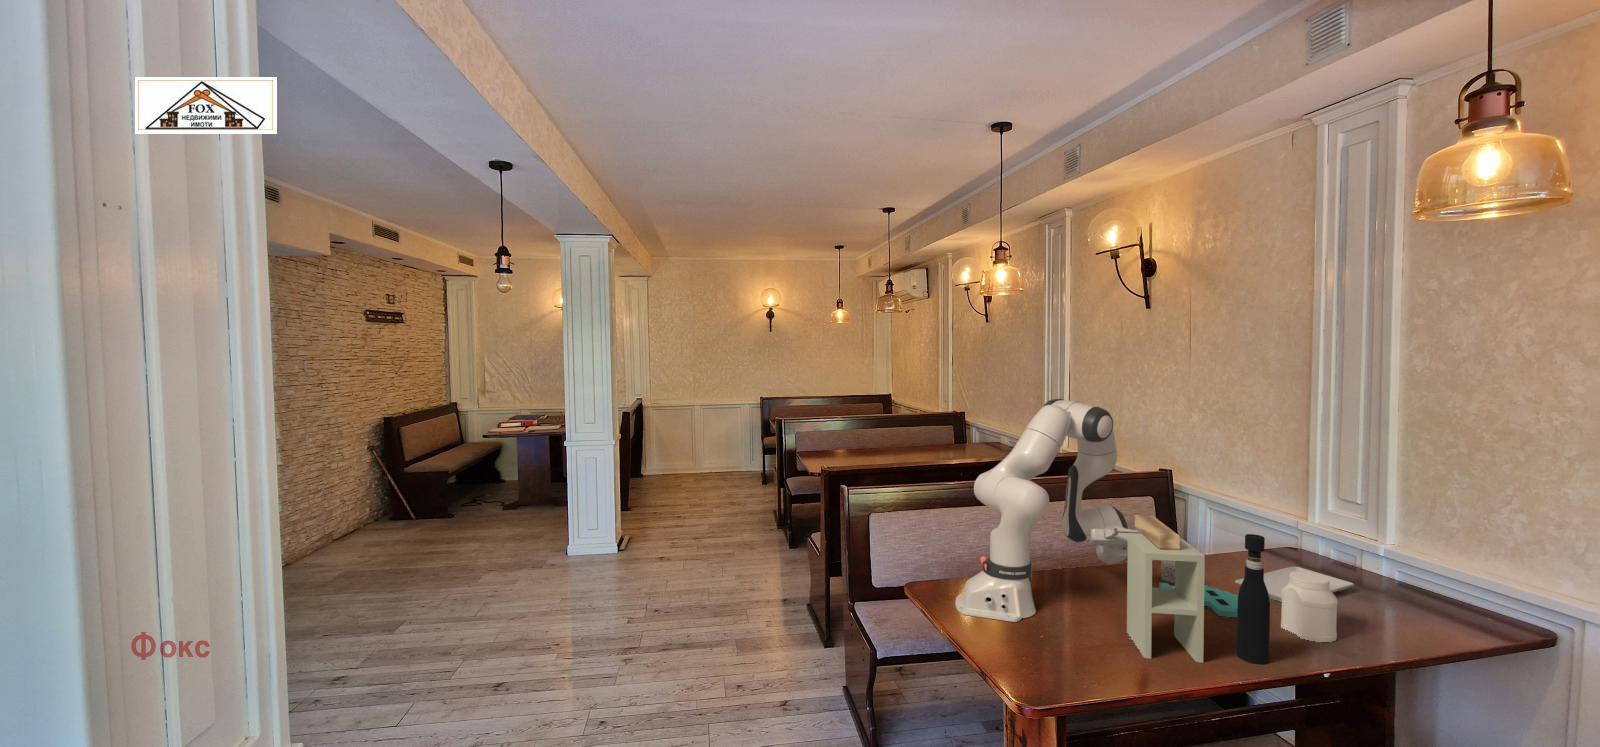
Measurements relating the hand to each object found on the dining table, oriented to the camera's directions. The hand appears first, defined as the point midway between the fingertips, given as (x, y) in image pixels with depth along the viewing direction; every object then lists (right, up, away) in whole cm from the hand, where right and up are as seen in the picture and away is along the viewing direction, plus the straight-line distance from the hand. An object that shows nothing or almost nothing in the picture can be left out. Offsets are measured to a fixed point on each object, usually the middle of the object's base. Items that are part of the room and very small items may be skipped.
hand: (1132, 531), depth 183 cm
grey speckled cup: (+26, -22, +25) cm, 42 cm away
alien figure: (+25, -23, +4) cm, 34 cm away
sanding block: (-3, +3, -18) cm, 18 cm away
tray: (+56, -22, +12) cm, 61 cm away
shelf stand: (-4, -24, -22) cm, 33 cm away
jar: (+38, -23, -16) cm, 47 cm away
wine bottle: (+14, -24, -29) cm, 40 cm away
